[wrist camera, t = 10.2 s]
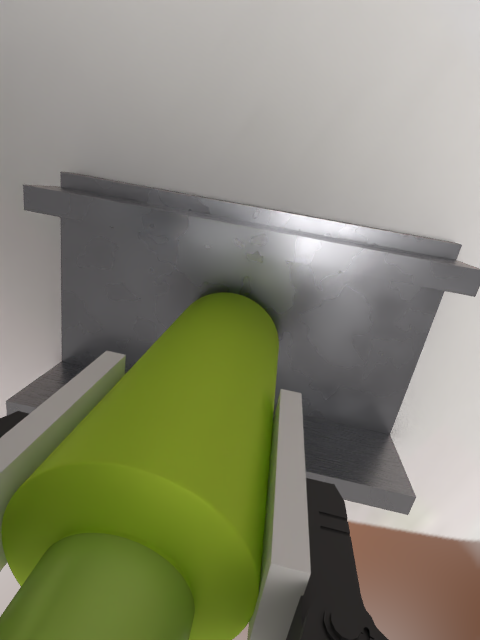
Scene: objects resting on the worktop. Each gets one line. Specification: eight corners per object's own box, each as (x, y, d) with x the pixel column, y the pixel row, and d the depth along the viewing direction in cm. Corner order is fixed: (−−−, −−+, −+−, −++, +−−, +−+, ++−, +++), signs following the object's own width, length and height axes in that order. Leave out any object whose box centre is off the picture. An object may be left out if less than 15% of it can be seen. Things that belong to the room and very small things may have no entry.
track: (70, 172, 21) (-11, 163, 15) (453, 242, 19) (521, 260, 14) (70, 379, 26) (8, 431, 20) (376, 449, 24) (403, 526, 18)
